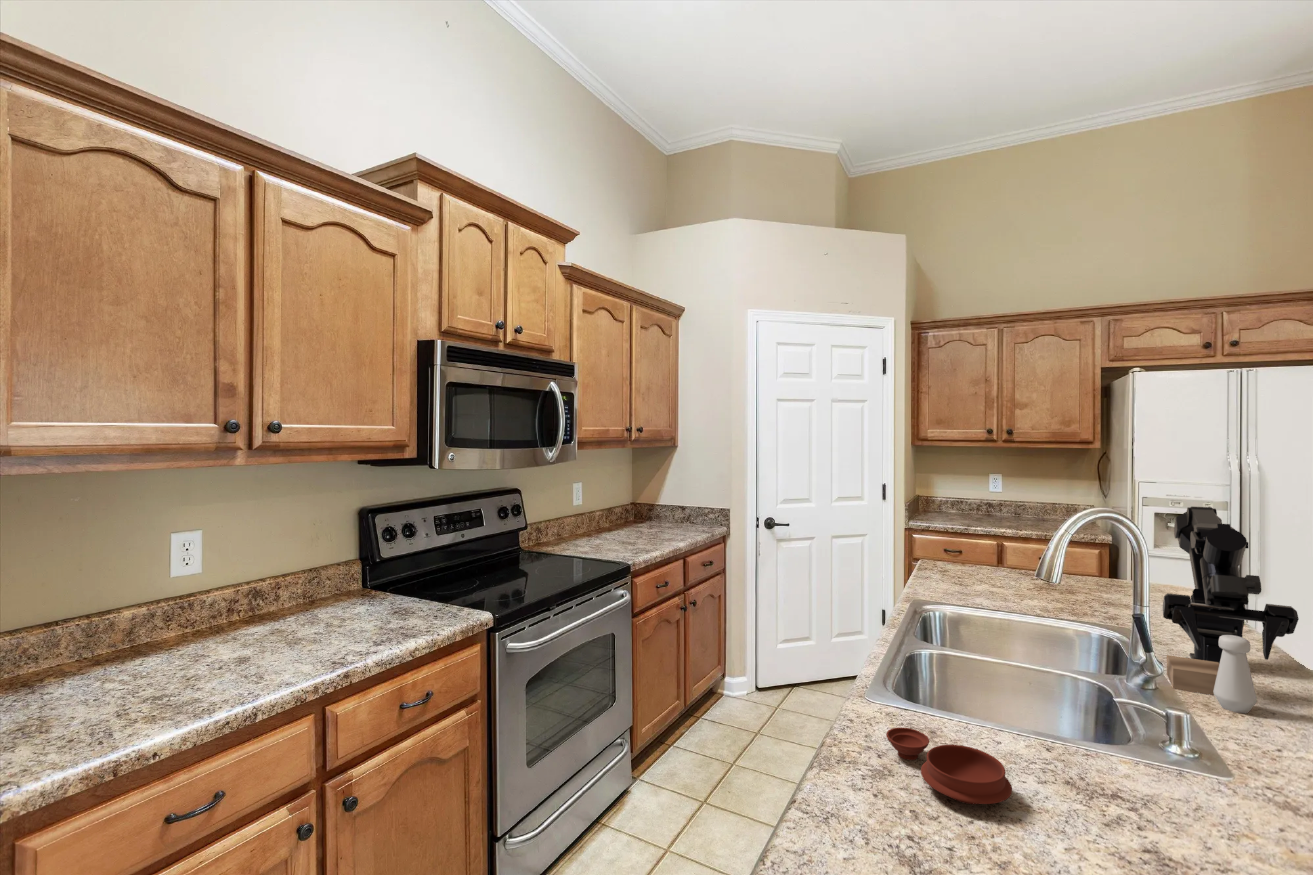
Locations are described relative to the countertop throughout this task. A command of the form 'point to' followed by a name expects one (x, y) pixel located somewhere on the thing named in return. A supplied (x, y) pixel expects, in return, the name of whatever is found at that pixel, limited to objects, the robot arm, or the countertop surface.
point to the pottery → (955, 768)
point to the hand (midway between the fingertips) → (1232, 653)
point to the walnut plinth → (1192, 674)
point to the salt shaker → (1234, 675)
